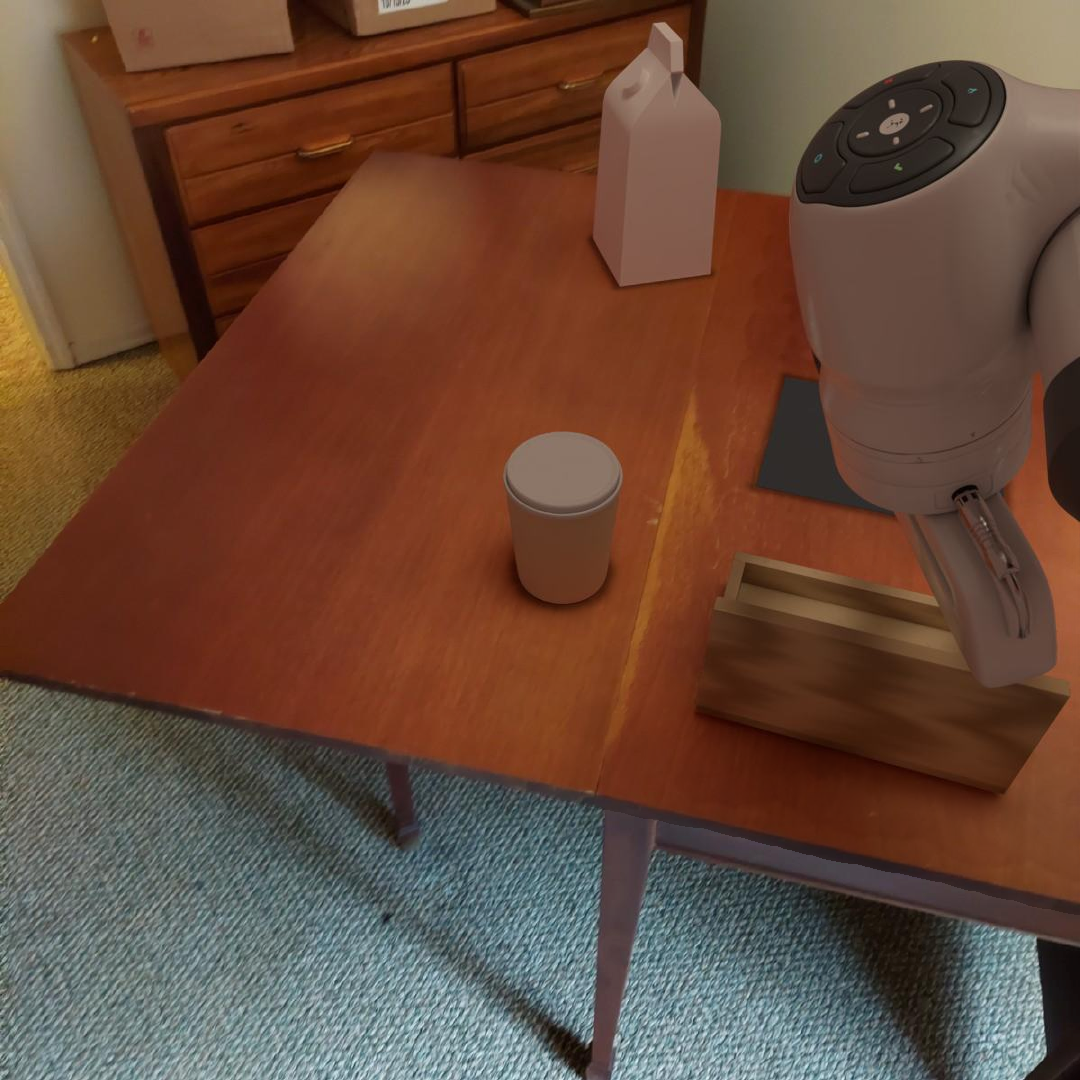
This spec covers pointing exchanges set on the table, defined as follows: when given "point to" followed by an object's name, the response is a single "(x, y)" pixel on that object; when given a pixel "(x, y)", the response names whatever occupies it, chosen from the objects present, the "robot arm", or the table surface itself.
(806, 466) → the mat
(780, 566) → the drawer
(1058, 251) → the robot arm
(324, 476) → the table surface
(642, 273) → the milk
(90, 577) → the table surface
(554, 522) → the coffee cup
